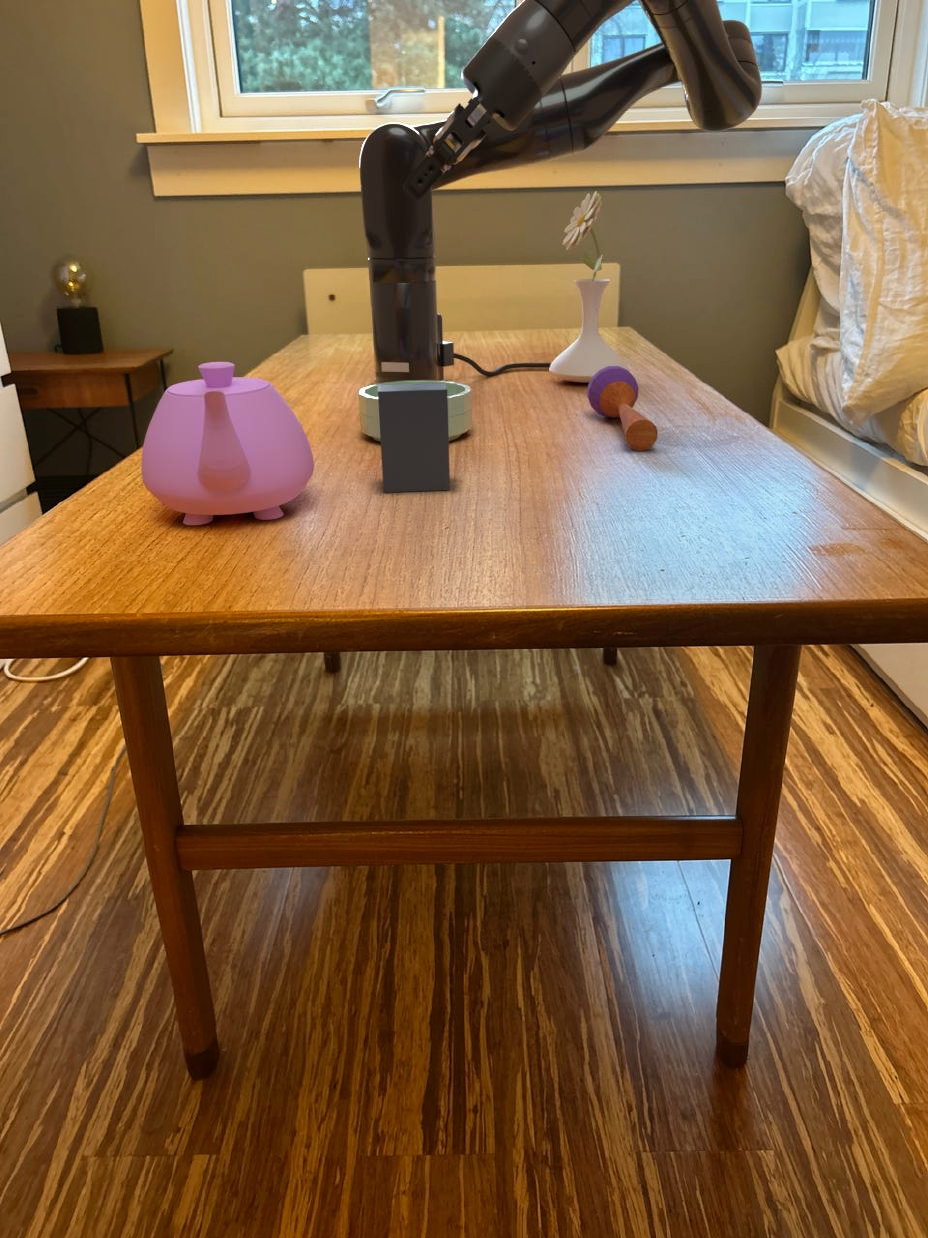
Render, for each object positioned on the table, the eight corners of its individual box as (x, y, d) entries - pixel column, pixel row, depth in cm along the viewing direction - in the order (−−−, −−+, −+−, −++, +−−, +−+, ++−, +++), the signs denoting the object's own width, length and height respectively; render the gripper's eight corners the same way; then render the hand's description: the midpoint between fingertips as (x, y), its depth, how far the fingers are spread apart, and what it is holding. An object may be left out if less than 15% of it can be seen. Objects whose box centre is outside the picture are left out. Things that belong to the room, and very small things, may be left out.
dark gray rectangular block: (383, 483, 84) (378, 385, 80) (448, 481, 84) (445, 383, 81) (383, 492, 81) (377, 391, 77) (449, 490, 82) (447, 389, 78)
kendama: (609, 413, 91) (580, 366, 109) (616, 468, 94) (587, 414, 112) (667, 401, 91) (629, 355, 108) (673, 456, 94) (635, 404, 111)
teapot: (325, 542, 69) (311, 381, 64) (133, 558, 67) (103, 392, 62) (312, 474, 87) (300, 344, 82) (160, 485, 85) (138, 351, 80)
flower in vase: (550, 374, 137) (554, 192, 127) (626, 374, 136) (636, 190, 125) (546, 390, 125) (549, 191, 115) (629, 390, 124) (640, 189, 113)
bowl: (416, 418, 110) (415, 376, 108) (493, 432, 102) (493, 387, 100) (339, 436, 102) (335, 391, 100) (416, 453, 94) (414, 405, 92)
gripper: (555, 86, 85) (438, 222, 89) (534, 102, 98) (432, 220, 102) (499, 20, 82) (381, 163, 87) (484, 46, 95) (382, 169, 99)
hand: (409, 194), depth 94 cm, fingers open, 8 cm apart
